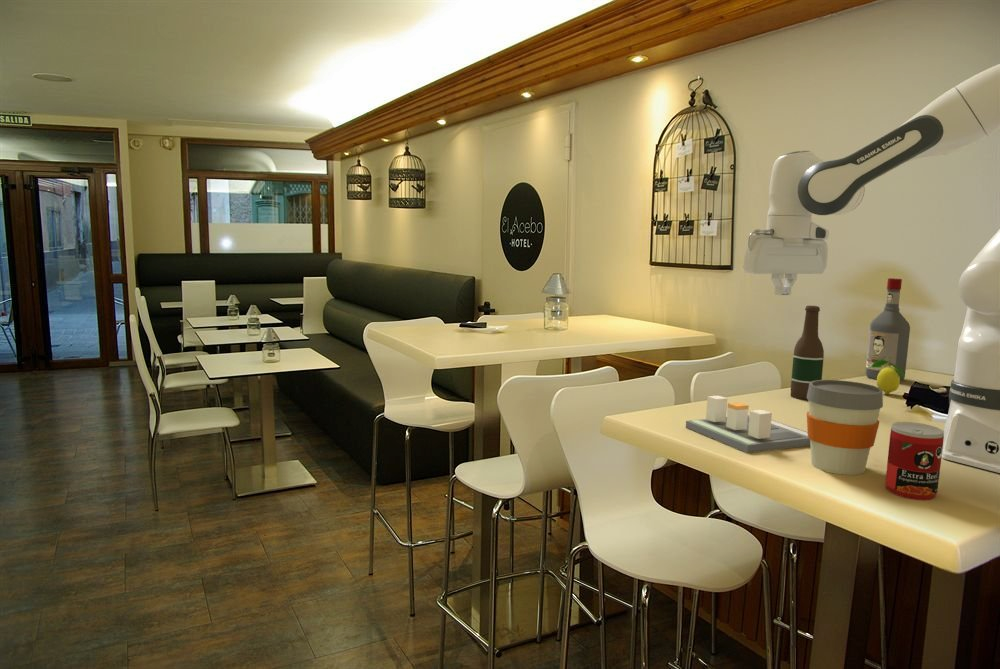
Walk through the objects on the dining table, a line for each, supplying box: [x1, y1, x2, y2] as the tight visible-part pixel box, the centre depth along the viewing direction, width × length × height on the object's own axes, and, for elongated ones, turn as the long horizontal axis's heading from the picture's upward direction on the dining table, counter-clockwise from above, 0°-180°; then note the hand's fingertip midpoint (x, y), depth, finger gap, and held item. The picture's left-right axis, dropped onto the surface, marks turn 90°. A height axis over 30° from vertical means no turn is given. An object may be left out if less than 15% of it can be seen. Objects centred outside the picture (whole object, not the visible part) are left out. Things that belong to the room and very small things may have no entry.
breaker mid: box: [726, 401, 750, 430], centre depth 151 cm, size 3×3×5 cm
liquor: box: [864, 277, 911, 381], centre depth 217 cm, size 9×9×30 cm
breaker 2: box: [748, 409, 773, 439], centre depth 145 cm, size 3×3×5 cm
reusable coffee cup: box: [806, 379, 884, 476], centre depth 133 cm, size 12×13×15 cm
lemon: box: [871, 358, 906, 395], centre depth 196 cm, size 7×6×10 cm
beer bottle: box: [790, 305, 825, 401], centre depth 189 cm, size 8×8×24 cm
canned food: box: [884, 421, 944, 501], centre depth 121 cm, size 8×8×11 cm
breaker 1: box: [705, 395, 728, 422], centre depth 157 cm, size 3×3×5 cm
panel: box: [685, 414, 811, 454], centre depth 153 cm, size 19×19×2 cm
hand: (782, 294), depth 157 cm, fingers closed
